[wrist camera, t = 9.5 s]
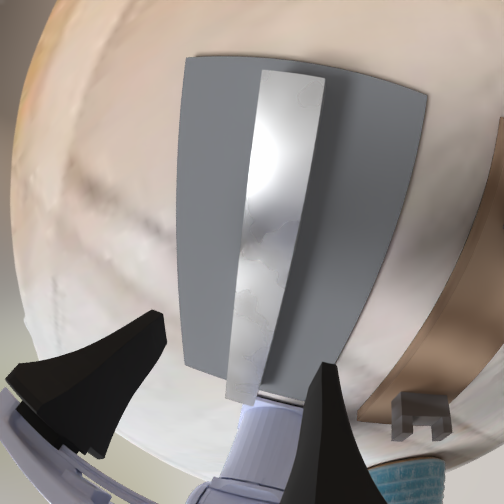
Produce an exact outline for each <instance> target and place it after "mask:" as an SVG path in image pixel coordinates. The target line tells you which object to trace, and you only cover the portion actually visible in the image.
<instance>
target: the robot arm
mask: <svg viewBox="0 0 504 504" xmlns="http://www.w3.org/2000/svg"><path fill="white" fill-rule="evenodd" d="M166 344H167V338H166V332H165V324H164V317H163V314H162V313H160V312H157V311H155V310H150V311H149V312H147V313H145V314H144V315H142V316H140V317H139V318H137V319H135V320H134V321H132V322H131V323H129V324H127V325H126V326H124V327H122V328H121V329H119V330H117V331H115V332H114V333H112V334H110V335H108V336H107V337H105V338H103V339H101V340H99V341H97V342H95V343H93V344H91V345H89V346H86V347H84V348H82V349H79V350H77V351H74V352H71V353H68V354H65V355H62V356H59V357H55V358H51V359H47V360H42V361H36V362H30V363H19V364H18V365H17V366H16V367H15V368H14V370H13V371H12V372H11V373H10V374H9V375H8V376H7V377H6V378H5V380H6V382H7V383H8V384H9V385H10V387H11V388H12V389H13V390H14V391H15V392H16V394H17V395H18V396H19V397H20V398H21V399H22V402H21V403H20V402H19V401H18V400H17V399H16V398H15V397H14V396H13V394H12V393H11V392H10V391H9V390H8V389H7V388H6V387H5V388H4V389H3V390H2V391H1V392H0V441H1V442H2V444H3V445H4V447H5V448H6V450H7V451H8V453H9V454H10V456H11V457H12V458H13V460H14V461H15V463H16V464H17V465H18V467H19V468H20V469H21V470H22V472H23V473H24V474H25V476H26V477H27V478H28V479H29V480H30V482H31V483H32V484H33V485H34V486H35V488H36V489H37V490H38V491H39V492H40V493H41V494H42V495H43V497H44V498H45V499H46V500H47V501H48V502H49V503H50V504H114V503H112V502H110V499H111V498H112V497H111V495H109V494H108V493H107V492H105V491H104V490H103V489H101V488H100V487H98V486H97V485H95V484H94V483H92V482H90V481H88V480H87V479H85V478H83V477H82V473H83V474H85V475H86V476H87V477H89V478H90V479H91V480H93V481H94V482H96V483H97V484H99V485H100V486H102V487H103V488H105V489H107V490H108V491H110V492H111V493H113V494H115V495H116V496H118V497H120V498H122V499H123V500H125V501H127V502H129V503H130V504H157V503H156V502H154V501H151V500H149V499H147V498H145V497H143V496H141V495H139V494H138V493H136V492H134V491H132V490H130V489H128V488H127V487H125V486H123V485H121V484H120V483H118V482H116V481H115V480H113V479H111V478H110V477H108V476H107V475H105V474H103V473H102V472H101V471H99V470H98V469H96V468H95V467H93V466H92V465H90V464H89V463H87V462H86V461H85V460H83V459H82V458H81V457H79V456H78V455H77V453H78V452H79V451H80V452H81V453H82V454H84V455H86V453H87V452H88V453H89V454H91V455H92V456H94V457H95V458H97V459H104V458H105V455H106V452H107V449H108V446H109V444H110V441H111V439H112V436H113V434H114V432H115V429H116V427H117V425H118V423H119V421H120V419H121V417H122V415H123V413H124V411H125V409H126V407H127V405H128V403H129V401H130V400H131V398H132V396H133V395H134V393H135V392H136V390H137V389H138V388H139V386H140V385H141V383H142V382H143V381H144V379H145V378H146V377H147V375H148V374H149V372H150V371H151V370H152V368H153V367H154V365H155V364H156V362H157V361H158V359H159V357H160V356H161V354H162V352H163V350H164V348H165V346H166ZM185 504H388V503H387V502H386V500H385V499H384V497H383V496H382V494H381V493H380V491H379V489H378V488H377V486H376V484H375V483H374V481H373V479H372V477H371V475H370V473H369V471H368V469H367V467H366V465H365V463H364V461H363V459H362V456H361V454H360V452H359V449H358V446H357V444H356V441H355V438H354V436H353V433H352V429H351V426H350V423H349V419H348V416H347V412H346V408H345V404H344V400H343V396H342V391H341V386H340V381H339V375H338V368H337V366H336V364H331V363H326V362H322V363H321V365H320V367H319V369H318V371H317V372H316V374H315V376H314V378H313V380H312V382H311V384H310V386H309V388H308V392H307V396H306V400H305V404H304V408H300V407H296V406H291V405H287V404H283V403H279V402H275V401H271V400H267V399H264V398H260V397H257V398H256V400H255V403H254V406H253V407H252V406H249V405H245V404H243V405H242V410H241V414H240V419H239V423H238V432H237V434H236V437H235V440H234V442H233V445H232V447H231V450H230V452H229V455H228V457H227V460H226V462H225V465H224V467H223V469H222V472H221V474H220V477H219V478H217V477H213V479H212V481H211V482H205V483H203V484H201V485H199V486H197V487H196V488H195V489H194V490H193V491H192V493H191V494H190V496H189V497H188V499H187V501H186V503H185Z"/></svg>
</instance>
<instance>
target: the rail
mask: <svg viewBox="0 0 504 504" xmlns="http://www.w3.org/2000/svg"><path fill="white" fill-rule="evenodd" d="M325 91H326V81H325V78H321V77H315V76H309V75H303V74H296V73H289V72H280V71H271V70H262V74H261V82H260V89H259V97H258V105H257V112H256V120H255V128H254V136H253V144H252V152H251V160H250V169H249V177H248V185H247V194H246V202H245V211H244V220H243V228H242V237H241V246H240V255H239V264H238V274H237V283H236V293H235V302H234V312H233V322H232V331H231V342H230V352H229V362H228V372H227V383H226V394H225V398H226V399H229V400H232V401H236V402H239V403H242V404H245V405H249V406H252V407H253V406H254V403H255V400H256V398H257V395H258V392H259V389H260V386H261V383H262V379H263V376H264V372H265V369H266V365H267V361H268V358H269V354H270V351H271V347H272V343H273V340H274V336H275V332H276V328H277V324H278V320H279V317H280V313H281V309H282V305H283V301H284V297H285V293H286V289H287V284H288V280H289V276H290V272H291V268H292V263H293V259H294V255H295V250H296V246H297V241H298V237H299V232H300V228H301V223H302V218H303V213H304V209H305V204H306V199H307V194H308V189H309V184H310V179H311V173H312V168H313V163H314V157H315V152H316V146H317V141H318V135H319V129H320V123H321V117H322V111H323V104H324V98H325Z"/></svg>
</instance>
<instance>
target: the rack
mask: <svg viewBox="0 0 504 504" xmlns="http://www.w3.org/2000/svg"><path fill="white" fill-rule="evenodd" d="M503 344H504V118H503V117H500V122H499V129H498V135H497V140H496V146H495V151H494V155H493V160H492V164H491V168H490V172H489V176H488V180H487V183H486V187H485V190H484V194H483V197H482V200H481V203H480V206H479V209H478V212H477V215H476V218H475V220H474V223H473V226H472V228H471V231H470V234H469V236H468V239H467V241H466V243H465V246H464V248H463V250H462V253H461V255H460V257H459V259H458V262H457V264H456V266H455V268H454V270H453V272H452V274H451V276H450V278H449V280H448V282H447V284H446V286H445V288H444V290H443V292H442V293H441V295H440V297H439V299H438V301H437V302H436V304H435V306H434V308H433V309H432V311H431V313H430V314H429V316H428V318H427V319H426V321H425V323H424V324H423V326H422V327H421V329H420V331H419V332H418V334H417V335H416V337H415V338H414V340H413V341H412V343H411V344H410V346H409V347H408V349H407V350H406V351H405V353H404V354H403V356H402V357H401V358H400V360H399V361H398V362H397V364H396V365H395V366H394V368H393V369H392V370H391V372H390V373H389V374H388V376H387V377H386V378H385V379H384V381H383V382H382V383H381V384H380V386H379V387H378V388H377V389H376V390H375V392H374V393H373V394H372V395H371V396H370V397H369V399H368V400H367V401H366V402H365V403H364V404H363V405H362V406H361V408H360V409H359V410H358V413H357V421H362V422H371V423H381V424H392V441H403V440H405V439H406V438H407V437H409V436H410V435H411V434H413V425H414V426H431V429H432V441H441V440H443V439H444V438H445V437H447V436H448V435H450V434H451V433H452V425H451V417H450V410H449V403H451V402H452V401H453V400H454V399H455V398H456V397H457V396H458V395H459V394H460V393H461V392H462V391H463V390H464V389H465V388H466V387H467V386H468V385H469V384H470V383H471V382H472V381H473V379H474V378H475V377H476V376H477V375H478V374H479V373H480V372H481V371H482V369H483V368H484V367H485V366H486V365H487V364H488V362H489V361H490V360H491V359H492V358H493V356H494V355H495V354H496V353H497V351H498V350H499V349H500V348H501V346H502V345H503Z"/></svg>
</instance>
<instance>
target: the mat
mask: <svg viewBox="0 0 504 504" xmlns="http://www.w3.org/2000/svg"><path fill="white" fill-rule="evenodd" d="M262 70H271V71H280V72H289V73H296V74H303V75H309V76H315V77H321V78H325V81H326V91H325V98H324V104H323V111H322V117H321V123H320V129H319V135H318V141H317V146H316V152H315V157H314V163H313V168H312V173H311V179H310V184H309V189H308V194H307V199H306V204H305V209H304V213H303V218H302V223H301V228H300V232H299V237H298V241H297V246H296V250H295V255H294V259H293V263H292V268H291V272H290V276H289V280H288V284H287V289H286V293H285V297H284V301H283V305H282V309H281V313H280V317H279V320H278V324H277V328H276V332H275V336H274V340H273V343H272V347H271V351H270V354H269V358H268V361H267V365H266V369H265V372H264V376H263V379H262V383H261V386H260V389H259V390H261V391H265V392H269V393H272V394H276V395H280V396H284V397H288V398H293V399H297V400H301V401H305V400H306V396H307V392H308V388H309V386H310V384H311V382H312V380H313V378H314V376H315V374H316V372H317V371H318V369H319V367H320V365H321V363H322V362H326V363H331V364H335V362H336V360H337V358H338V356H339V355H340V353H341V351H342V349H343V347H344V345H345V343H346V341H347V340H348V338H349V336H350V334H351V332H352V330H353V328H354V326H355V324H356V322H357V320H358V318H359V315H360V313H361V311H362V309H363V307H364V305H365V303H366V300H367V298H368V296H369V294H370V291H371V289H372V287H373V285H374V282H375V280H376V277H377V275H378V273H379V270H380V268H381V265H382V263H383V260H384V258H385V255H386V252H387V250H388V247H389V244H390V241H391V239H392V236H393V233H394V230H395V227H396V224H397V221H398V218H399V215H400V212H401V209H402V206H403V203H404V199H405V196H406V192H407V189H408V185H409V182H410V178H411V174H412V170H413V167H414V162H415V158H416V154H417V150H418V145H419V140H420V136H421V131H422V125H423V120H424V114H425V108H426V101H427V95H425V94H422V93H420V92H417V91H414V90H412V89H409V88H406V87H403V86H400V85H398V84H395V83H391V82H388V81H385V80H382V79H378V78H375V77H371V76H368V75H364V74H360V73H356V72H352V71H348V70H343V69H339V68H334V67H329V66H324V65H318V64H312V63H306V62H299V61H291V60H282V59H272V58H258V57H234V56H213V57H189V58H186V62H185V70H184V79H183V88H182V98H181V109H180V122H179V137H178V157H177V188H176V239H177V271H178V291H179V306H180V320H181V331H182V342H183V352H184V361H185V365H186V366H189V367H191V368H194V369H197V370H199V371H202V372H205V373H208V374H210V375H213V376H216V377H219V378H222V379H225V380H227V372H228V362H229V352H230V342H231V331H232V322H233V312H234V302H235V293H236V283H237V274H238V264H239V255H240V246H241V237H242V228H243V220H244V211H245V202H246V194H247V185H248V177H249V169H250V160H251V152H252V144H253V136H254V128H255V120H256V112H257V105H258V97H259V89H260V82H261V74H262Z"/></svg>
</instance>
